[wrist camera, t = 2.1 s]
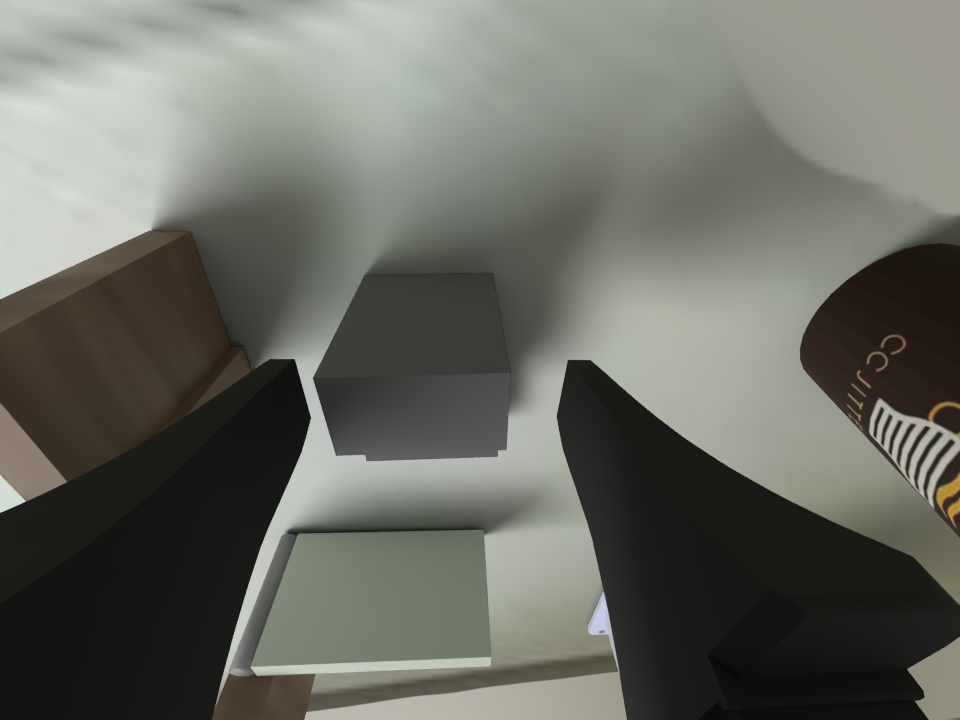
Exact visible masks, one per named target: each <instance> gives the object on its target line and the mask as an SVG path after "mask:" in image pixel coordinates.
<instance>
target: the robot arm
mask: <svg viewBox="0 0 960 720" xmlns="http://www.w3.org/2000/svg"><path fill="white" fill-rule="evenodd" d="M310 420H311V416H310V413H309V409H308V406H307V402H306V398H305V395H304V391H303V388H302V384H301V380H300V377H299V373H298V369H297V366H296V362H295V359H270V360H268V361H267V362H265V363H263V364H262V365H260V366H259V367H257V368H256V369H254V370H253V371H251V372H250V373H248V374H247V375H245V376H244V377H242V378H241V379H240V380H238V381H237V382H235V383H234V384H232V385H231V386H230V387H228V388H227V389H225V390H224V391H222V392H221V393H219V394H218V395H216V396H215V397H214V398H212V399H211V400H209V401H208V402H206V403H205V404H203V405H202V406H200V407H199V408H197V409H196V410H194V411H193V412H191V413H189V414H188V415H186V416H185V417H183V418H182V419H180V420H178V421H177V422H175V423H174V424H172V425H171V426H169V427H167V428H166V429H164V430H163V431H161V432H160V433H158V434H156V435H155V436H153V437H151V438H150V439H148V440H146V441H145V442H143V443H141V444H139V445H138V446H136V447H134V448H132V449H131V450H129V451H127V452H125V453H123V454H121V455H119V456H118V457H116V458H114V459H112V460H110V461H108V462H107V463H105V464H103V465H101V466H99V467H97V468H95V469H93V470H91V471H89V472H87V473H85V474H83V475H81V476H79V477H77V478H75V479H73V480H71V481H68V482H66V483H64V484H62V485H60V486H58V487H56V488H54V489H52V490H50V491H48V492H45V493H43V494H41V495H39V496H37V497H35V498H33V499H31V500H29V501H26V502H24V503H22V504H20V505H18V506H15V507H13V508H11V509H8V510H6V511H4V512H1V513H0V720H212V717H213V713H214V709H215V704H216V700H217V696H218V692H219V687H220V683H221V680H222V676H223V672H224V669H225V665H226V661H227V657H228V654H229V650H230V646H231V642H232V639H233V635H234V631H235V628H236V624H237V621H238V618H239V614H240V611H241V608H242V604H243V601H244V597H245V594H246V591H247V587H248V584H249V581H250V578H251V575H252V572H253V569H254V566H255V563H256V560H257V557H258V553H259V550H260V547H261V545H262V542H263V540H264V537H265V535H266V532H267V530H268V527H269V525H270V523H271V521H272V518H273V516H274V514H275V512H276V509H277V507H278V505H279V503H280V500H281V498H282V496H283V493H284V491H285V489H286V487H287V484H288V482H289V480H290V478H291V475H292V473H293V471H294V468H295V466H296V464H297V461H298V459H299V457H300V454H301V452H302V449H303V445H304V442H305V438H306V435H307V431H308V427H309V423H310ZM557 421H558V426H559V432H560V437H561V442H562V447H563V451H564V454H565V457H566V460H567V463H568V466H569V469H570V472H571V475H572V478H573V481H574V484H575V487H576V490H577V493H578V496H579V499H580V502H581V505H582V508H583V511H584V514H585V517H586V520H587V523H588V526H589V530H590V533H591V537H592V540H593V545H594V549H595V553H596V558H597V562H598V567H599V571H600V576H601V580H602V585H603V590H604V591H603V593H602V595H601V598H600V600H599V602H598V604H597V607H596V609H595V611H594V614H593V616H592V618H591V621H590V623H589V625H588V631H589V633H590V634H592V635H599V634H608V635H609V639H610V643H611V646H612V650H613V653H614V657H615V661H616V664H617V668H618V671H619V675H620V679H621V685H622V692H623V698H624V704H625V710H626V715H627V720H928V718H927V717H926V716H925V714H924V713H923V712H922V710H921V709H920V708H919V706H918V705H917V704H916V702H915V701H916V700H921V699H923V698H924V692H923V690H922V688H921V687H920V686H919V685H918V683H917V682H916V681H915V679H914V678H913V677H912V675H911V674H910V673H909V672H908V670H907V669H908V668H909V667H911V666H913V665H915V664H916V663H918V662H920V661H922V660H923V659H925V658H926V657H928V656H930V655H932V654H933V653H935V652H937V651H939V650H940V649H942V648H944V647H946V646H947V645H949V644H950V643H951V642H953V641H954V640H956V639H957V638H959V637H960V605H959V604H958V603H957V602H956V601H955V600H954V599H953V598H952V597H951V596H950V595H949V594H948V593H947V592H946V591H945V590H944V589H943V588H942V587H941V585H940V584H939V583H938V582H937V581H936V580H935V579H934V578H933V577H932V576H931V575H930V574H929V573H928V572H927V571H926V570H925V569H924V568H923V567H922V566H921V565H920V564H919V563H918V561H917V560H916V559H914V558H913V557H912V556H910V555H908V554H905V553H903V552H901V551H898V550H896V549H894V548H891V547H889V546H887V545H884V544H882V543H880V542H877V541H875V540H873V539H871V538H868V537H866V536H864V535H861V534H859V533H857V532H854V531H852V530H850V529H847V528H845V527H843V526H841V525H838V524H836V523H834V522H832V521H830V520H828V519H826V518H824V517H821V516H819V515H817V514H815V513H813V512H811V511H809V510H807V509H805V508H803V507H801V506H799V505H797V504H795V503H793V502H791V501H789V500H787V499H785V498H783V497H781V496H779V495H778V494H776V493H774V492H772V491H770V490H768V489H766V488H764V487H763V486H761V485H759V484H757V483H756V482H754V481H752V480H750V479H749V478H747V477H745V476H743V475H742V474H740V473H738V472H736V471H735V470H733V469H731V468H730V467H728V466H726V465H725V464H723V463H721V462H720V461H718V460H717V459H715V458H714V457H712V456H711V455H709V454H708V453H706V452H704V451H703V450H701V449H700V448H698V447H697V446H695V445H694V444H692V443H691V442H689V441H688V440H687V439H685V438H684V437H682V436H681V435H680V434H678V433H677V432H676V431H674V430H673V429H672V428H670V427H669V426H668V425H666V424H665V423H664V422H662V421H661V420H660V419H658V418H657V417H656V416H655V415H653V414H652V413H651V412H650V411H649V410H647V409H646V408H645V407H644V406H642V405H641V404H640V403H639V402H638V401H637V400H635V399H634V398H633V397H632V396H631V395H630V394H628V393H627V392H626V391H625V390H624V389H623V388H622V387H620V386H619V385H618V384H617V383H616V382H615V381H614V380H613V379H611V378H610V377H609V376H608V375H607V374H606V373H605V372H604V371H602V370H601V369H600V368H599V367H598V366H597V365H596V364H594V363H593V362H592V361H591V360H568V363H567V368H566V373H565V378H564V383H563V388H562V393H561V398H560V403H559V408H558V413H557ZM946 720H960V718H953V719H946Z"/></svg>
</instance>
